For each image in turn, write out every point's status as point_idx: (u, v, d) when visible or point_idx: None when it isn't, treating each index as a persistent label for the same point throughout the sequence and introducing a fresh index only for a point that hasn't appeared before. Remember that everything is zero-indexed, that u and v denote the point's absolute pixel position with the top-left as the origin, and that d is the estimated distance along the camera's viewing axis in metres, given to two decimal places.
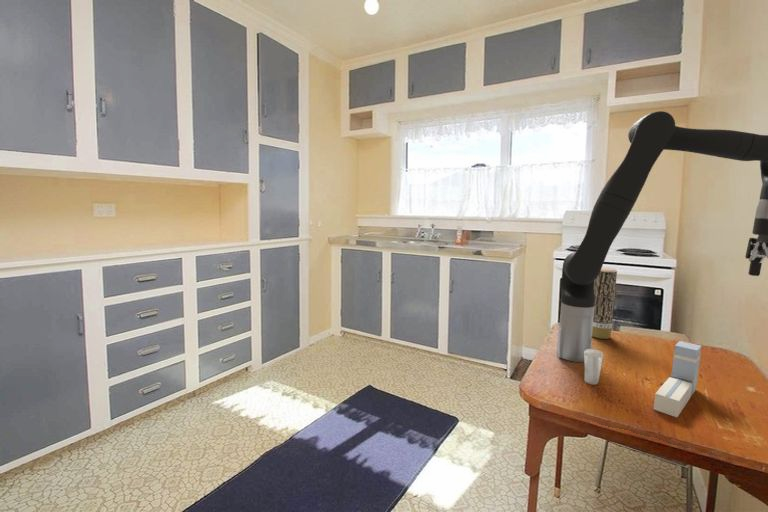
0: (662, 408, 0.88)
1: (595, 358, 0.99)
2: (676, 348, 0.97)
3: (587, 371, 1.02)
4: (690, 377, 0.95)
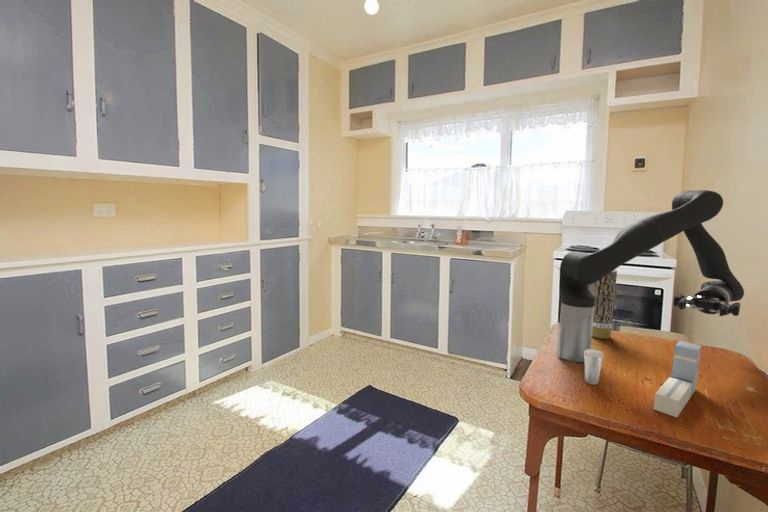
0: (662, 408, 0.88)
1: (595, 358, 0.99)
2: (676, 348, 0.97)
3: (587, 371, 1.02)
4: (690, 377, 0.95)
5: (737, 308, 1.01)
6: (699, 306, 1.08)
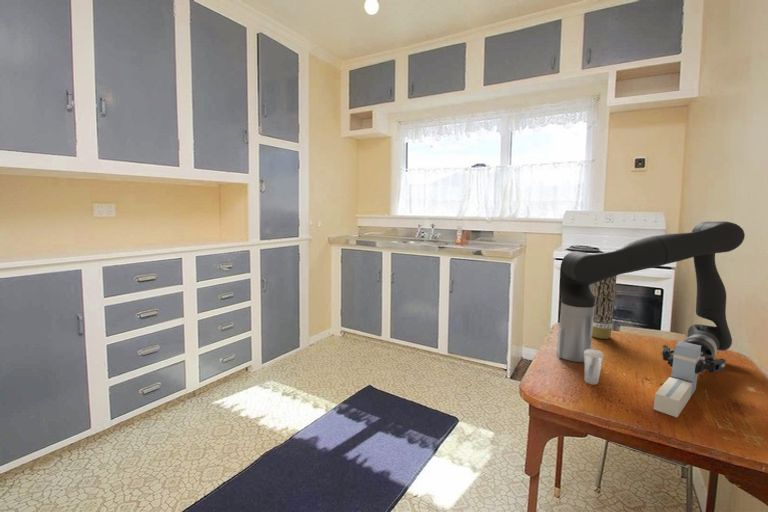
0: (662, 408, 0.88)
1: (595, 358, 0.99)
2: (676, 348, 0.97)
3: (587, 371, 1.02)
4: (690, 377, 0.95)
5: (712, 364, 0.95)
6: None
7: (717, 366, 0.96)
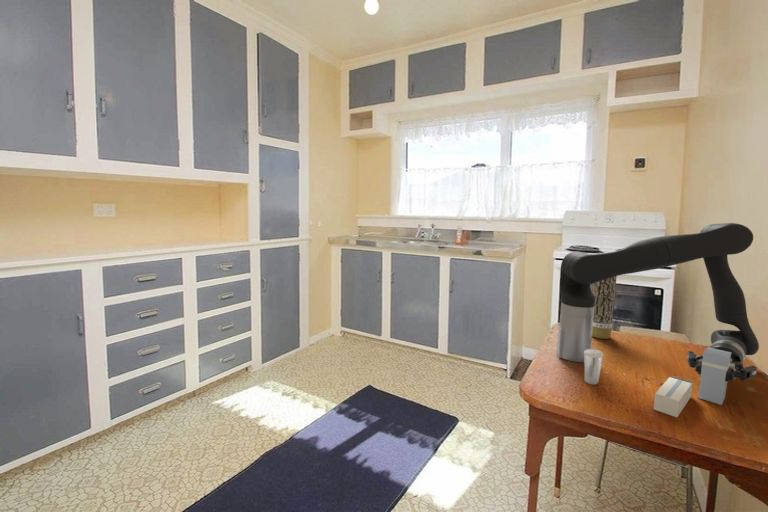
0: (662, 408, 0.88)
1: (595, 358, 0.99)
2: (705, 355, 0.93)
3: (587, 371, 1.02)
4: (720, 385, 0.91)
5: (744, 372, 0.91)
6: None
7: (748, 374, 0.92)
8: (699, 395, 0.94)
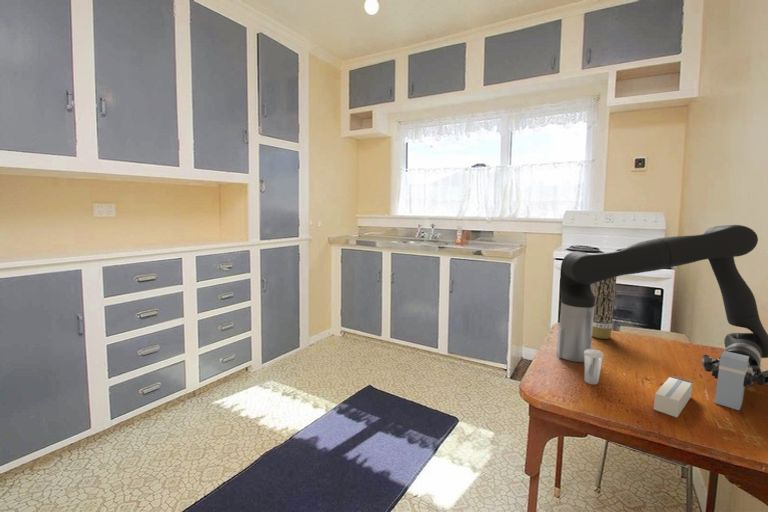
0: (662, 408, 0.88)
1: (595, 358, 0.99)
2: (722, 359, 0.90)
3: (587, 371, 1.02)
4: (738, 390, 0.89)
5: (762, 377, 0.89)
6: None
7: (766, 378, 0.90)
8: (716, 400, 0.92)
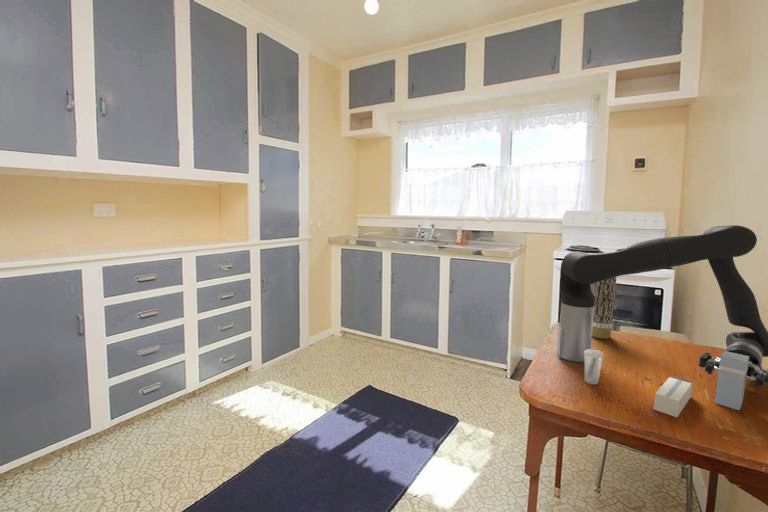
0: (662, 408, 0.88)
1: (595, 358, 0.99)
2: (722, 359, 0.90)
3: (587, 371, 1.02)
4: (738, 390, 0.89)
5: None
6: None
7: None
8: (716, 400, 0.92)
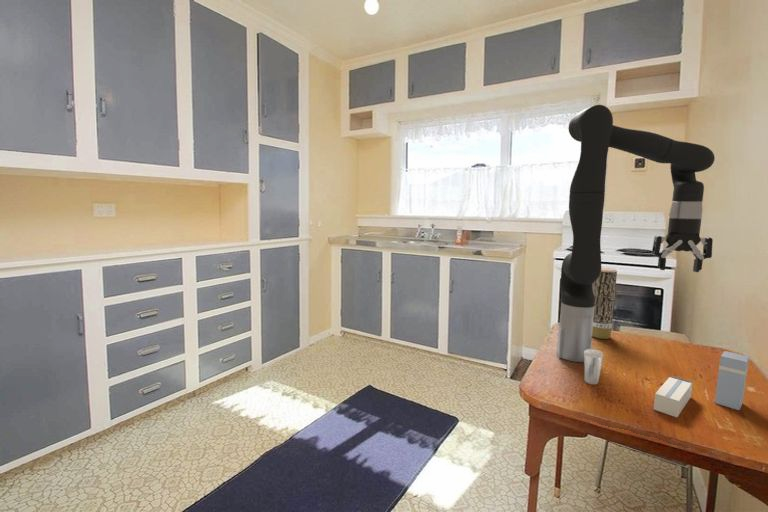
0: (662, 408, 0.88)
1: (595, 358, 0.99)
2: (722, 359, 0.90)
3: (587, 371, 1.02)
4: (738, 390, 0.89)
5: None
6: (675, 250, 1.14)
7: None
8: (716, 400, 0.92)
